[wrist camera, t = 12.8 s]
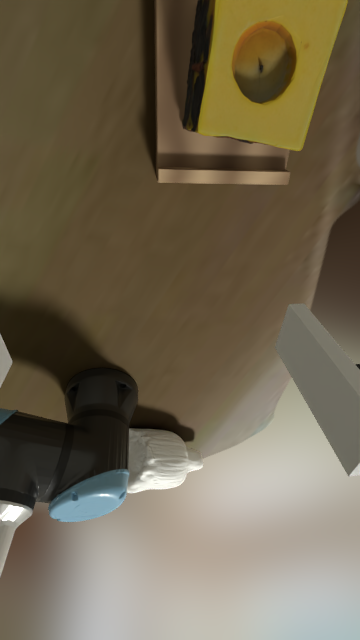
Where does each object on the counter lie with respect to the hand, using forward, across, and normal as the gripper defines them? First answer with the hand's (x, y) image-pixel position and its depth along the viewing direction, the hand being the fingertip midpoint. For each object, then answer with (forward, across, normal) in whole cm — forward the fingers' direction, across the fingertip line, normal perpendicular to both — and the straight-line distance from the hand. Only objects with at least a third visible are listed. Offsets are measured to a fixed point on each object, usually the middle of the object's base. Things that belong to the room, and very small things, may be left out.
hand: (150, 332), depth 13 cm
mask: (+32, +2, -62) cm, 70 cm away
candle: (+28, +10, +11) cm, 32 cm away
